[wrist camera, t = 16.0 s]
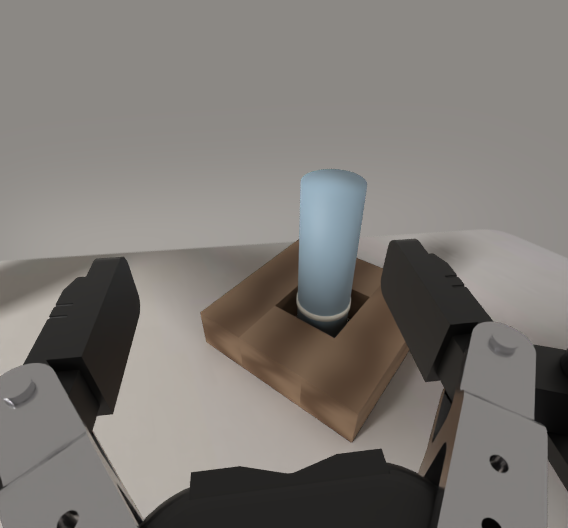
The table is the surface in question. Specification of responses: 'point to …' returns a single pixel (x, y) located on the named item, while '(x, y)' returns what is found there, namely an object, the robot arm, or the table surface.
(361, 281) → the socket block
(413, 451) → the table surface
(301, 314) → the peg
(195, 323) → the table surface
